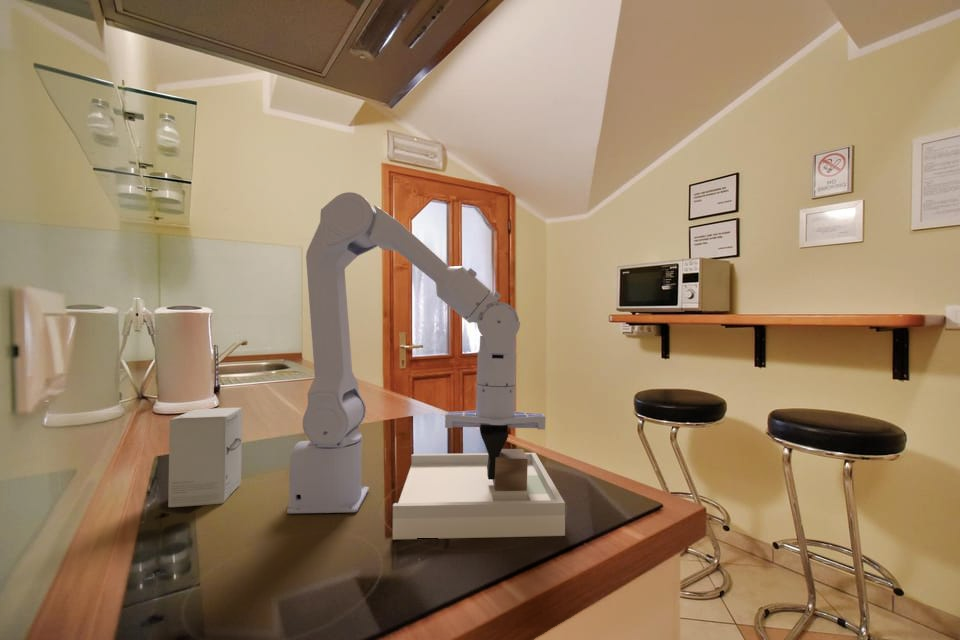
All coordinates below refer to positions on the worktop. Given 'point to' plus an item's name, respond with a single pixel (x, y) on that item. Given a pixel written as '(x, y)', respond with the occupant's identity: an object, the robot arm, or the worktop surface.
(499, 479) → the walnut block
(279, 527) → the worktop surface
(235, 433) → the supplement box
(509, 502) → the box
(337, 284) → the robot arm
